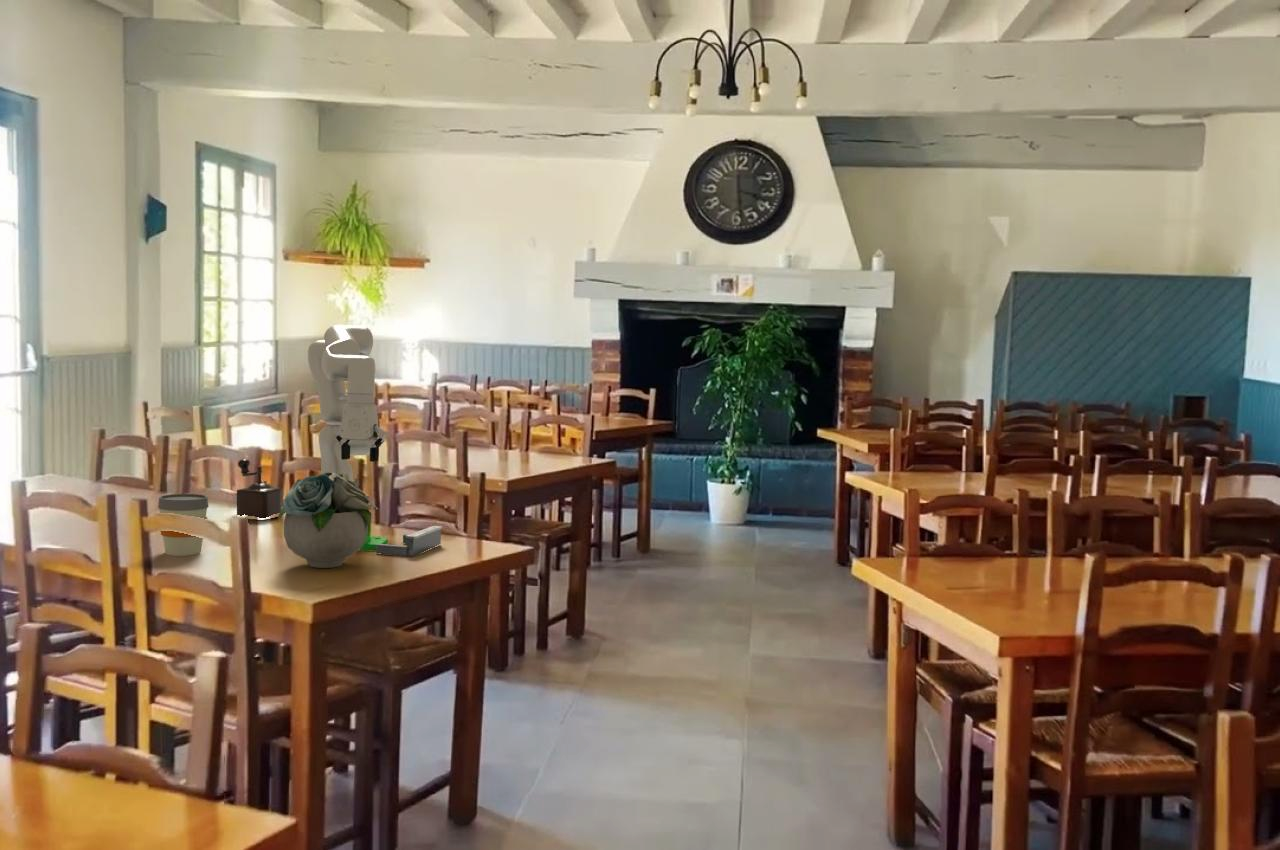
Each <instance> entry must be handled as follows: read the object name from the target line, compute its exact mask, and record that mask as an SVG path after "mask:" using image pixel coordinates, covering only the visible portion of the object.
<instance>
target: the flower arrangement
mask: <svg viewBox="0 0 1280 850" xmlns="http://www.w3.org/2000/svg"><path fill="white" fill-rule="evenodd" d="M342 477H343V474H336V473H325V474H321V473H320V474H318V475H312V476H307V477H304V478H301V479H299V478H298V479H297V480H296V481H295V482H294V483H292V485H291V488H290V490H289V491H288V492H287V493H286V494H285V497H284V499H283V500H282V509H281V511H280V514H279V516H278V518H276V520H277V521H278V520H279V519H280V518H281V517H283V516H284V520H283V536H284V539H285V542H286V546H287V548H288V549H289V550H290V551H292V552H293V553H294V554H295V555H296V556H299V557H301V558H303V559H305V560H306V562H307V565H308V566H309V567H311V568H316V569H317V568H318V569H332V568H337V567H338V568H339V567H341V566H342V565H343V564H344V561H345V559H347V558H348V557H350V556H352V555H354V554H356V553H357V552H358V551H360V550H359V549H360V548H361V547H362V546H363V545H364V543H365V540H366V537H367V533H368V529H369V532H370V527H372V525H371V524H372V512H370V510H372V511H373V512H375V510H379V508H378V507H377V506H376V505H375V504H373V499H372V498H370V497H369V496H368V495H367V494H366V493H365V492H364V491H362V489H361V488H360V487H359V486H360V480H359V479H358V478H355V479H354V480H353V482H352V481H350V480H349V477H348V475H347V474H345V475H344V477H343V478H342Z"/></svg>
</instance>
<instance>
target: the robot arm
mask: <svg viewBox="0 0 1280 850" xmlns="http://www.w3.org/2000/svg"><path fill="white" fill-rule="evenodd" d="M373 346H374V336H373V333H372V331H371V329H369V327H367V326H365V325H352V324H351V325H349V324H348V325H347V324H345V325H344V324H336V325H332V326H330V327H329V328H327V329H326V330H325V332H324V335H323V339H321V340H315V341H313V342H311V343H310V345H309V346H308V349H307V361H308V367H309V370H310V373H311V376H312V377H313V380H314V381H315V384H316V387H317V392H318V393H317V395H318V403H319V411H320V412H319V413H320V417H321V420H322V421H323V423H325V424H327V425H326V426H323V427H322V428H321V430H320V431H319V434H318V445H319V451H320V466H321V467H320V468H321V469H320V472H321V473H320V475H321V474H325V473H336V474H343V477H344V475H345V474H347V475H348V477H349V480H350V481H352V482H354V469H353V467H352V465H351V463H350V462H349V461H348V460H350V459H351V456H369V461H370V462H371V463H372V462H378V461H379V457H380V448H381V446H382V444H384V442H385V439H386V438H387V435H388V432H387V431H385V430H384V429H383V428H381V427H380V426H379V417H378V415H379V414H378V410H377V405H376V404H375V384H376V383H375V379H376V375H375V374H376V363H375V362H376V361H375V359H374V357H371V356H370V354H371V352H372V348H373ZM346 382H347V384H346ZM343 477H342V478H343Z"/></svg>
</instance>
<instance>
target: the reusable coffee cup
mask: <svg viewBox="0 0 1280 850" xmlns="http://www.w3.org/2000/svg"><path fill="white" fill-rule="evenodd" d="M157 508H158V509H159V514H160V513H174V514H181V515H187V516H195V517H200V518H204V519H207V520H208V517H207V512H208V511H207V510H208V508H209V499H208V495H206V494H198V493H172V494H164V495H160V496H159V497H158V505H157ZM160 535H161V537H162V538H163V539H162V540H163V546H164V554H165V555H168V556H174V557H175V556H177V557H178V556H179V557H181V556H182V557H183V556H184V557H185V556H193V555H198V554H201V553H202V546H203V538H204V537H203V538H199V537H196V536H191V535H188V534H184V533H179V532H174V531H161V530H160Z"/></svg>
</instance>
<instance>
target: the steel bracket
mask: <svg viewBox="0 0 1280 850" xmlns="http://www.w3.org/2000/svg"><path fill="white" fill-rule="evenodd" d="M442 529H443V526H442V525H440V526H439V525H431V526H428V527H426V528H424V529H421V530H418V531H414V532H412V533H410V534H408V533H405V534H402V544H403V543H407V544H406V545H399V544H397V545H396V544H377V545H376V551H375V554H376V553H381V554H380V555H386V554H390V555H389V556H397V555H401V557H409V556H411V557H410V558H414V557H416V556H419V555H421V554H423V553H422V552H424V551H426V550H428V549H430V548H433V547H435V546H437V545H439V544H442V543H441V542H442V541H441V540H442V537H441V536H442V534H441V533H442ZM433 549H434V548H433ZM426 552H427V551H426ZM420 553H421V554H420ZM424 553H425V552H424ZM418 554H419V555H418ZM413 556H414V557H413Z"/></svg>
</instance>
